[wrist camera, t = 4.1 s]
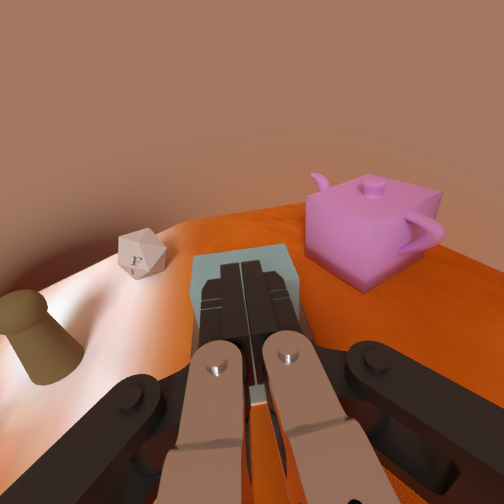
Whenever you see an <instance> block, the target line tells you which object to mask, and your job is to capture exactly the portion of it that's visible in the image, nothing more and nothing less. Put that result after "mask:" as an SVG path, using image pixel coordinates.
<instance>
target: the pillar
mask: <svg viewBox="0 0 504 504" xmlns="http://www.w3.org/2000/svg"><path fill="white" fill-rule="evenodd" d="M252 260H260V263H261V267H262V271H263V272H269V271H276V272H277V273H278V274H279V275H280V276H281V277H282V278H283V279H284V282H285V285H286V287H287V290H288V293H289V296H290V299H291V302H292V304H293V307H294V310H295V313H296V316H297V318H298V321H299V276H298V274H297V272H296V269H295V267H294V265H293V262H292V260H291V258H290V255H289V253H288V250H287V248H286V246H285V243H284V244H277V245H270V246H263V247H256V248H249V249H242V250H235V251H227V252H220V253H213V254H206V255H199V256H194V258H193V267H192V276H191V284H190V293H189V295H190V299H191V302H192V305H193V309H194V312H195V316H196V319H197V323H198V326H199V327H200V311H201V292H202V288H203V287H204V285H205V283H206V282H207V280H210V279H217V278H221V276H220V265H222V264H230V263H237V262H239V266H240V273H241V280H242V287H243V294H244V286H243V278H242V270H241V262H244V261H252ZM244 301H245V295H244ZM245 308H246V302H245ZM246 315H247V310H246ZM247 322H248V316H247ZM248 329H249V323H248ZM249 337H250V330H249ZM250 345H251V353H252V362H253V370H254V378H255V386H249V389H250V398H251V406H255V405H261V404H267V399H266V393H265V387H264V384H261V385H257V379H256V372H255V365H254V358H253V351H252V344H251V337H250Z"/></svg>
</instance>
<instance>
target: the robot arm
mask: <svg viewBox="0 0 504 504" xmlns="http://www.w3.org/2000/svg"><path fill="white" fill-rule="evenodd" d="M241 270H242V278H243V286H244V294H243V287H242V280H241V273H240V266H239V262H237V263H230V264H222V265H220V276H221V278H217V279H210V280H207V282H206V283H205V285H204V287H203V288H202V292H201V311H200V327H199V344H198V350H197V351H196V352H195V354H194V355H193V357H192V359H191V362H190V363H189V364H188V365H187V366H186V367H185V368H183V369H182V370H180V371H178V372H176V373H174V374H172V375H170V376H168V377H166V378H164V379H161V380H159V381H157V380H156V379H155V378H154V377H152V376H150V375H147V374H137V375H133V376H130V377H127V378H125V379H124V380H122V381H120V382H119V383H117V384H116V385H115V386H114V387H113V388H112V389H111V390H110V391H109V392H108V393H107V394H106V395H105V396H104V397H102V398H101V399H100V400H99V401H98V402H97V403H96V404H95V405H94V406H93V407H92V408H91V409H90V410H89V411H88V412H87V413H86V414H85V415H84V416H83V417H82V418H81V419H80V420H79V421H78V422H76V423H75V424H74V425H73V426H72V427H71V428H70V429H69V430H68V431H67V432H66V433H65V434H64V435H63V436H62V437H61V438H60V439H59V440H58V441H57V442H56V443H55V444H54V445H53V446H51V447H50V448H49V449H48V450H47V451H46V452H45V453H44V454H43V455H42V456H41V457H40V458H39V459H38V460H37V461H36V462H35V463H34V464H33V465H32V466H31V467H30V468H29V469H28V470H27V471H25V472H24V473H23V474H22V475H21V476H20V477H19V478H18V479H17V480H16V481H15V482H14V483H13V484H12V485H11V486H10V487H9V488H8V489H7V490H6V491H5V492H4V493H3V494H2V495H1V496H0V504H153V502H154V501H155V499H156V498H157V501H156V504H255V503H254V491H253V469H252V442H251V416H250V411H251V398H250V389H249V386H255V378H254V370H253V362H252V353H251V345H250V337H251V344H252V351H253V358H254V365H255V372H256V379H257V385H261V384H264V387H265V393H266V399H267V409H268V414H269V418H270V422H271V427H272V431H273V435H274V439H275V443H276V447H277V452H278V456H279V460H280V464H281V468H282V472H283V476H284V481H285V486H286V491H287V497H288V503H289V504H401V503H400V501H399V499H398V497H397V495H396V493H395V491H394V489H393V487H392V485H391V483H390V481H389V479H388V477H387V475H386V473H385V471H384V469H383V467H382V465H383V466H384V467H385V468H386V469H387V470H389V471H390V472H391V473H392V474H394V475H395V476H396V477H397V478H398V479H400V480H401V481H402V482H403V483H405V484H406V485H407V486H408V487H409V488H411V489H412V490H413V491H414V492H415V493H417V494H418V495H419V496H420V497H422V498H423V499H424V500H425V501H426V502H428V503H429V504H504V409H503V408H501V407H499V406H497V405H496V404H494V403H492V402H490V401H488V400H486V399H485V398H483V397H481V396H479V395H477V394H475V393H473V392H472V391H470V390H468V389H466V388H464V387H462V386H461V385H459V384H457V383H455V382H453V381H451V380H450V379H448V378H446V377H444V376H442V375H440V374H438V373H437V372H435V371H433V370H431V369H429V368H427V367H426V366H424V365H422V364H420V363H418V362H416V361H414V360H413V359H411V358H409V357H407V356H405V355H403V354H402V353H400V352H398V351H396V350H394V349H392V348H390V347H389V346H387V345H385V344H382V343H379V342H375V341H361V342H358V343H356V344H354V345H353V346H351V347H350V349H349V350H348V352H347V351H339V350H332V349H326V348H323V347H320V346H318V345H315V344H314V343H312V342H311V341H310V340H309V339H308V338H306V336H305V335H304V334H303V332H302V330H301V327H300V324H299V321H298V318H297V316H296V313H295V310H294V307H293V304H292V302H291V299H290V296H289V293H288V290H287V287H286V285H285V282H284V279H283V278H282V277H281V276H280V275H279V274H278V273H277V272H276V271H269V272H263V271H262V267H261V263H260V260H252V261H244V262H241ZM244 295H245V301H244ZM245 302H246V308H245ZM246 310H247V315H246ZM247 316H248V322H247ZM248 323H249V329H248ZM249 330H250V337H249Z"/></svg>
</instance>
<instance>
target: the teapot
mask: <svg viewBox="0 0 504 504" xmlns="http://www.w3.org/2000/svg"><path fill="white" fill-rule="evenodd" d="M310 175H311V177H312V178H313V179H314V180H315V181H316V184H317V186H318V189H319V192H317V193H314V194H311V195H309V196H307V197H306V229H305V256H306V257H307V258H309V259H310V260H312V261H313V262H315V263H317V264H318V265H320V266H321V267H323V268H324V269H326V270H328V271H329V272H331V273H332V274H334V275H335V276H337V277H338V278H340V279H342V280H343V281H345V282H346V283H348V284H349V285H351V286H352V287H354V288H356V289H357V290H359V291H360V292H362V293H363V294H364V293H365V292H367V291H369V290H370V289H372V288H374V287H375V286H377V285H378V284H380V283H382V282H383V281H385V280H387V279H388V278H390V277H391V276H393V275H395V274H396V273H398V272H400V271H401V270H403V269H405V268H406V267H408V266H409V265H411V264H413V263H414V262H416V261H418V260H419V259H421V258H422V257H424V254H425V251H426V250H427V249H429V248H432V247H434V246H436V245H437V244H439V243H440V242H441V241H442V240H443V239H444V238H445V235H446V230H445V229H444V227H443V226H442V225H441V224H440V223H438V222H437V221H435V218H436V215H437V211H438V208H439V205H440V201H441V198H442V195H443V193H442V192H441V191H437V190H432V189H428V188H425V187H420V186H416V185H413V184H409V183H405V182H401V181H397V180H393V179H388V178H384V177H380V176H376V175H372V174H368V175H365V176H362V177H359V178H356V179H353V180H350V181H347V182H345V183H342V184H339V185H336V186H333V187H331V186H330V184H329V182H328V180H327V179H326V178H325V177H324V176H323V175H320V174H317V173H311V174H310Z"/></svg>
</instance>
